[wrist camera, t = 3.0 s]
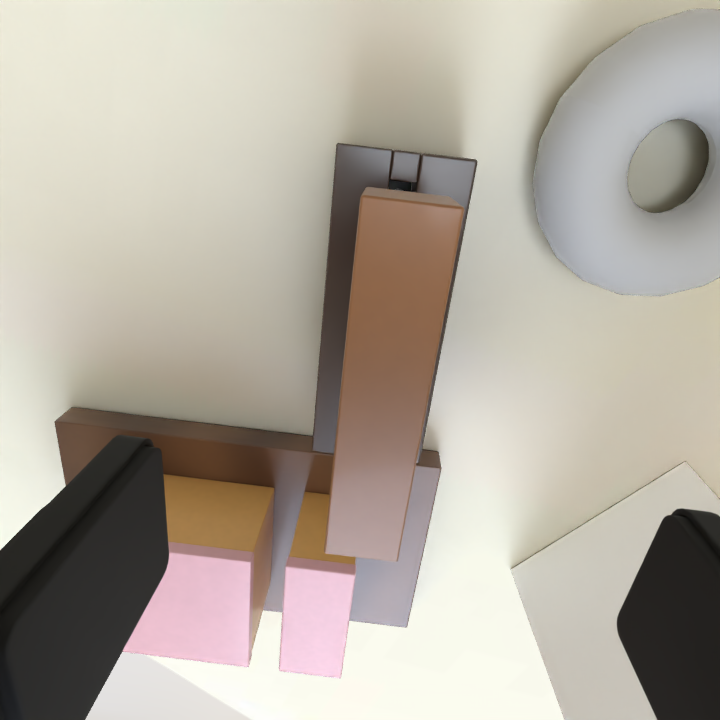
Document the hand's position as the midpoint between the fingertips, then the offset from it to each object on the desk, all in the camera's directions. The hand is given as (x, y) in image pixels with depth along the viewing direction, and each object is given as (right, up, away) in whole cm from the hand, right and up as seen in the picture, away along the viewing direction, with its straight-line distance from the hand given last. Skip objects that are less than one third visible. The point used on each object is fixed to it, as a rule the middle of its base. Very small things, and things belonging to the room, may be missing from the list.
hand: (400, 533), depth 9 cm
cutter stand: (0, +6, +14) cm, 15 cm away
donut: (+11, +11, +11) cm, 19 cm away
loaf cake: (-11, -6, +18) cm, 22 cm away
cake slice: (-3, -7, +18) cm, 19 cm away
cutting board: (-7, -6, +19) cm, 21 cm away
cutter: (0, +6, +14) cm, 15 cm away
